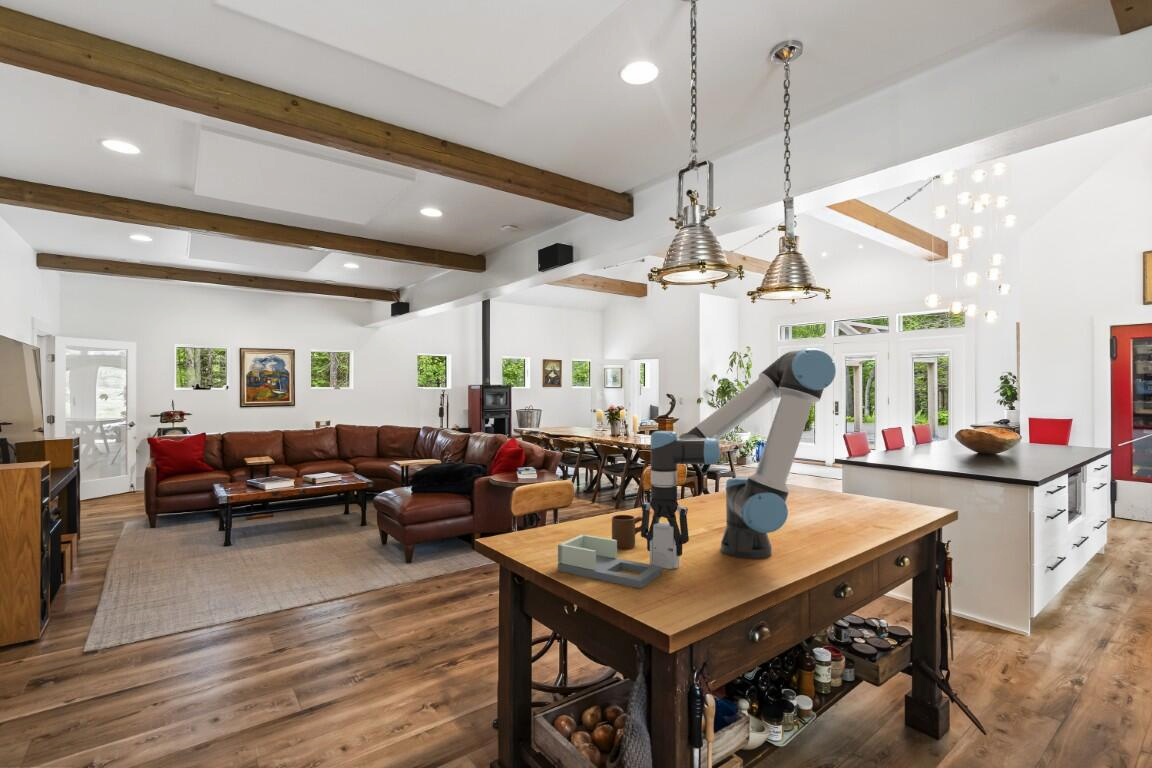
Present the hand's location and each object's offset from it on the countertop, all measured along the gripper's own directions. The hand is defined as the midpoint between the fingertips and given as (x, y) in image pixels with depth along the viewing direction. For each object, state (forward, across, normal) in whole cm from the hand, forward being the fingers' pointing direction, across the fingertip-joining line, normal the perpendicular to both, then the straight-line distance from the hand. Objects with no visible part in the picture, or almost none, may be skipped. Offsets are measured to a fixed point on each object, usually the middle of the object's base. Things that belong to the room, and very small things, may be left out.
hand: (664, 564), depth 157 cm
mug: (+1, +18, -13) cm, 22 cm away
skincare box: (+1, 0, 0) cm, 1 cm away
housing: (-2, +18, +13) cm, 22 cm away
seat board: (0, +11, +13) cm, 17 cm away
